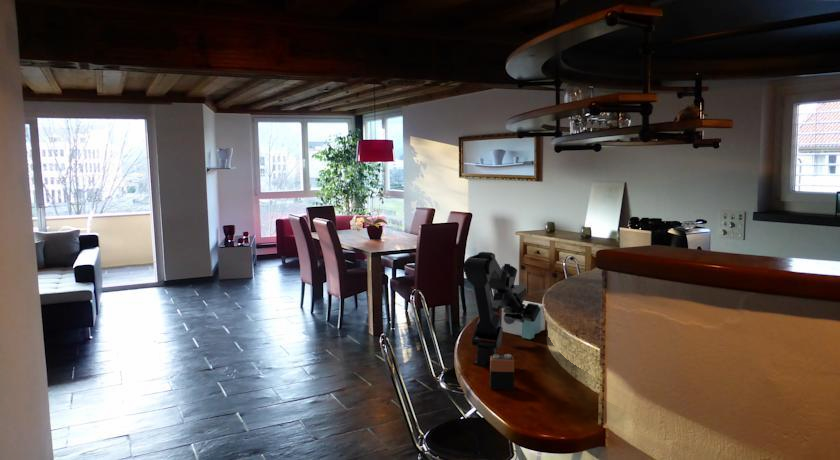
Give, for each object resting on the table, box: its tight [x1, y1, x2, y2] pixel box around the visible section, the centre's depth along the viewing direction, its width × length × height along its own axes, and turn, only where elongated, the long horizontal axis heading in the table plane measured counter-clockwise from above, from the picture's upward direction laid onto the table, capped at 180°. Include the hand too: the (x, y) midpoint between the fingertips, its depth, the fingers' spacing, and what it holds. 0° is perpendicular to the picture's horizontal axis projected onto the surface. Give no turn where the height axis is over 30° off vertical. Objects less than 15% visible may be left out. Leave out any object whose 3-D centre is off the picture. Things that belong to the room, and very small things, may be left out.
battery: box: [489, 353, 515, 391], centre depth 179 cm, size 4×7×10 cm, turn 87°
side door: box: [521, 309, 541, 340], centre depth 232 cm, size 11×4×9 cm, turn 137°
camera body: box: [500, 300, 546, 337], centre depth 240 cm, size 15×11×10 cm
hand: (523, 321), depth 226 cm, fingers closed
